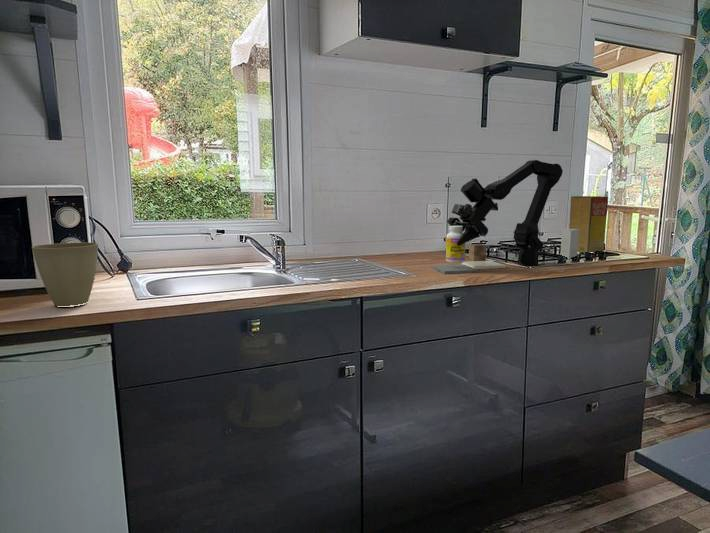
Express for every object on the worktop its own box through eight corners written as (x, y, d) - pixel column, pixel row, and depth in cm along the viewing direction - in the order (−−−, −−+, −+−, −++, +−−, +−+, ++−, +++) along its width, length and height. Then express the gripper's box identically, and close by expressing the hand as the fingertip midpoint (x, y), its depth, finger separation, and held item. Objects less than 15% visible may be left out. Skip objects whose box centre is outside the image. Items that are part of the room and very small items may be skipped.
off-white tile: (490, 263, 192) (491, 260, 192) (505, 267, 180) (505, 265, 180) (461, 264, 190) (461, 261, 190) (474, 269, 178) (474, 266, 178)
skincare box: (567, 257, 206) (569, 228, 204) (577, 258, 202) (579, 229, 200) (559, 258, 202) (561, 229, 200) (569, 259, 199) (571, 230, 197)
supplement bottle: (448, 263, 172) (448, 227, 170) (444, 260, 179) (444, 225, 177) (467, 263, 173) (467, 226, 170) (462, 260, 179) (463, 225, 177)
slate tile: (464, 267, 183) (464, 264, 183) (477, 272, 171) (477, 269, 171) (433, 268, 181) (433, 265, 181) (444, 273, 169) (444, 271, 169)
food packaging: (605, 253, 215) (609, 196, 211) (587, 254, 212) (591, 196, 208) (583, 250, 227) (586, 195, 223) (566, 251, 225) (569, 196, 221)
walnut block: (480, 261, 198) (480, 243, 197) (485, 262, 193) (486, 245, 192) (468, 261, 197) (469, 244, 196) (473, 263, 193) (474, 245, 191)
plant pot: (105, 307, 127) (99, 245, 124) (37, 314, 119) (29, 249, 117) (102, 296, 139) (96, 240, 137) (40, 302, 132) (33, 244, 130)
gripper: (451, 195, 182) (425, 226, 180) (481, 196, 165) (452, 230, 163) (469, 216, 186) (443, 246, 184) (500, 218, 169) (472, 252, 167)
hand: (452, 243), depth 174 cm, fingers closed on supplement bottle, 7 cm apart
